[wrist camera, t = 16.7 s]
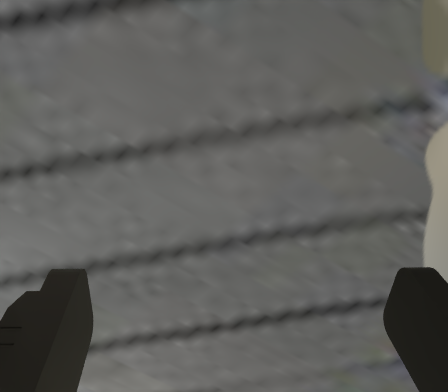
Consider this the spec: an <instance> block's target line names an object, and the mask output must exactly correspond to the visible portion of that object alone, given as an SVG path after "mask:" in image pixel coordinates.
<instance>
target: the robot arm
mask: <svg viewBox="0 0 448 392" xmlns="http://www.w3.org/2000/svg"><path fill="white" fill-rule="evenodd" d="M383 320H384V326H385V330H386V332H387V334H388V336H389V338H390V340H391V342H392V344H393V345H394V347H395V349H396V351H397V353H398V354H399V356H400V358H401V360H402V361H403V363H404V365H405V367H406V369H407V370H408V372H409V374H410V376H411V378H412V379H413V381H414V383H415V385H416V387H417V388H418V390H419V392H448V283H447V282H446V281H445V280H444V279H443V278H442V276H441V275H440V274H439V273H438V272H437V271H436V270H435V269H434V268H430V267H418V268H401V269H400V270H399V271H398V272H397V274H396V277H395V280H394V283H393V286H392V289H391V292H390V294H389V297H388V300H387V303H386V306H385V309H384V314H383ZM92 331H93V311H92V304H91V298H90V291H89V285H88V278H87V273H86V271H85V269H52V270H51V271H50V272H49V273H48V275H47V277H46V279H45V281H44V284H43V286H42V288H41V290H40V291H26V292H25V293H24V294H23V295H22V296H21V297H20V298H18V299H17V300H16V301H15V302H14V303H13V304H12V305H11V306H9V307H8V309H7V310H6V312H5V314H4V316H3V317H2V319H1V321H0V392H77V388H78V385H79V381H80V377H81V374H82V370H83V367H84V363H85V360H86V356H87V352H88V349H89V345H90V342H91V337H92Z"/></svg>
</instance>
